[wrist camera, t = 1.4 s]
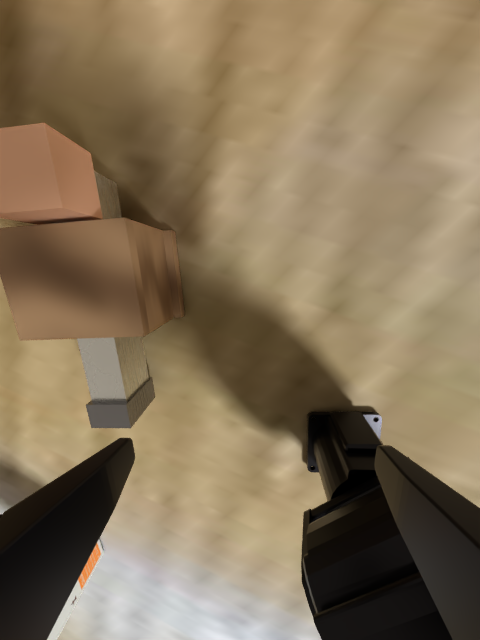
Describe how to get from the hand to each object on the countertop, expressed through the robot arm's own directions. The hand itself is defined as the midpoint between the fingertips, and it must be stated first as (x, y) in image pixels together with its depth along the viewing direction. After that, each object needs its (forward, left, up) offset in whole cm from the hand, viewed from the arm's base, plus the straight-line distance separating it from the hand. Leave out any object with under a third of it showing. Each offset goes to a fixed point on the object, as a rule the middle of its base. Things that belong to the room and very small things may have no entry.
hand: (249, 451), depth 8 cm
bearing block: (+6, +11, -13) cm, 18 cm away
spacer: (+12, +11, -8) cm, 18 cm away
